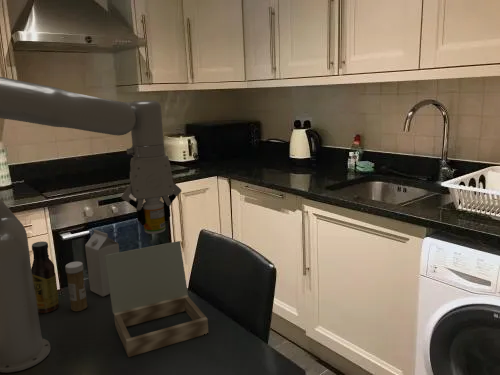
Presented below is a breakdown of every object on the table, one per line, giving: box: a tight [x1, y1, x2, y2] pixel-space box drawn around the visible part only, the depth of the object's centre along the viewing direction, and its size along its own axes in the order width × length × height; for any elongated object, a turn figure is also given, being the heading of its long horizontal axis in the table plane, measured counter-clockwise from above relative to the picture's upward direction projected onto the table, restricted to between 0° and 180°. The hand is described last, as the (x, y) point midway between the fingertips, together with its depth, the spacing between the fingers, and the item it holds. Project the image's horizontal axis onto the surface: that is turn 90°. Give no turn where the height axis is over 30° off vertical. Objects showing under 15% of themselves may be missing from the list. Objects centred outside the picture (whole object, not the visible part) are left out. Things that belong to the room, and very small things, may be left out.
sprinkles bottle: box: [64, 261, 88, 312], centre depth 124 cm, size 5×5×13 cm
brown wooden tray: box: [113, 294, 209, 358], centre depth 112 cm, size 20×15×4 cm
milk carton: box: [84, 229, 120, 297], centre depth 134 cm, size 7×7×19 cm
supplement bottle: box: [142, 197, 166, 235], centre depth 111 cm, size 5×5×10 cm
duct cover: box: [104, 240, 189, 315], centre depth 118 cm, size 20×15×1 cm
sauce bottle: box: [31, 240, 59, 314], centre depth 123 cm, size 6×6×20 cm
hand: (154, 221), depth 112 cm, fingers closed on supplement bottle, 5 cm apart
